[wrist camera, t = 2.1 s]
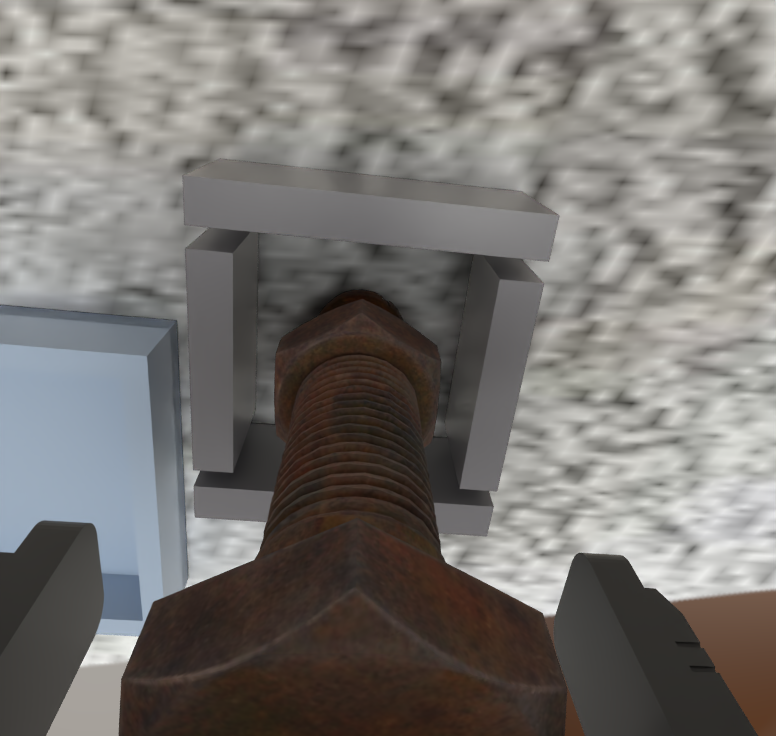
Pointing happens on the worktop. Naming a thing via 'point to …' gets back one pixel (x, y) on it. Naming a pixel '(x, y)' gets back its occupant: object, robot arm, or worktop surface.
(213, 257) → the holder
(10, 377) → the parts tray
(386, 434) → the bolt
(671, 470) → the worktop surface
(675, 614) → the robot arm
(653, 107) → the worktop surface
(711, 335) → the worktop surface
